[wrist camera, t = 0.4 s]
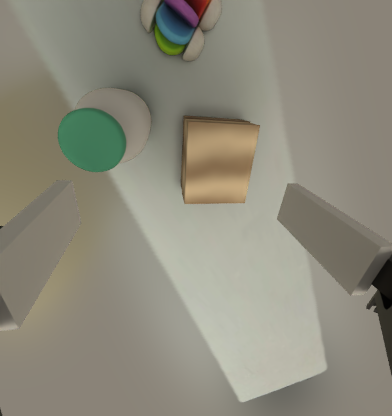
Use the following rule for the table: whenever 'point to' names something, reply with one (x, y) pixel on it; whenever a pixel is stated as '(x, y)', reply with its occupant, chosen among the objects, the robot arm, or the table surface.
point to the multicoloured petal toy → (180, 24)
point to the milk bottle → (105, 129)
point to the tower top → (217, 160)
